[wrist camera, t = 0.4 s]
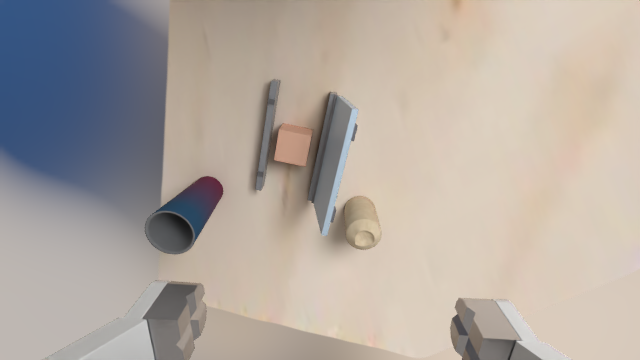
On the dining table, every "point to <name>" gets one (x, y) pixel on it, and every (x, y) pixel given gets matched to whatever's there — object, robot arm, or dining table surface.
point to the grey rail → (268, 135)
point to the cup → (183, 216)
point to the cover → (333, 160)
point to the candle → (361, 223)
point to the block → (293, 144)
